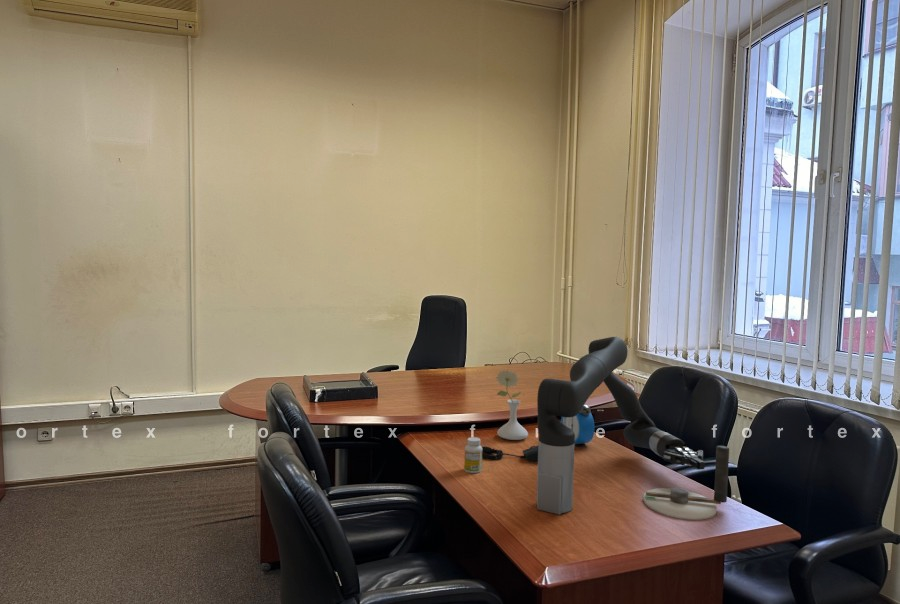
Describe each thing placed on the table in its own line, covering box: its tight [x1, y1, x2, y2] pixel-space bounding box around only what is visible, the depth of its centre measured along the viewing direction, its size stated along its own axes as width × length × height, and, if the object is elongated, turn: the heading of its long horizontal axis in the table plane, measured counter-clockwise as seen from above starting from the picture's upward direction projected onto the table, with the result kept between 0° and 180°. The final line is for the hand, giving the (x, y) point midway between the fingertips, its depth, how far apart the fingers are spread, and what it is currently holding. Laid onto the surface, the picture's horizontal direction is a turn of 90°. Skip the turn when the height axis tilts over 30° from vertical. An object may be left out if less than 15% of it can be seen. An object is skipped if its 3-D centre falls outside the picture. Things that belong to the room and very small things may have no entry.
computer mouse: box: [480, 445, 538, 464], centre depth 184 cm, size 10×32×6 cm, turn 84°
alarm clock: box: [560, 403, 596, 447], centre depth 200 cm, size 13×6×15 cm, turn 20°
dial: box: [645, 445, 730, 505], centre depth 148 cm, size 20×4×15 cm, turn 76°
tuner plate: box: [642, 487, 718, 521], centre depth 148 cm, size 18×18×1 cm
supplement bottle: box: [463, 436, 483, 474], centre depth 171 cm, size 5×5×10 cm
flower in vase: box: [496, 369, 529, 441], centre depth 205 cm, size 13×11×25 cm
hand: (702, 466), depth 154 cm, fingers closed
